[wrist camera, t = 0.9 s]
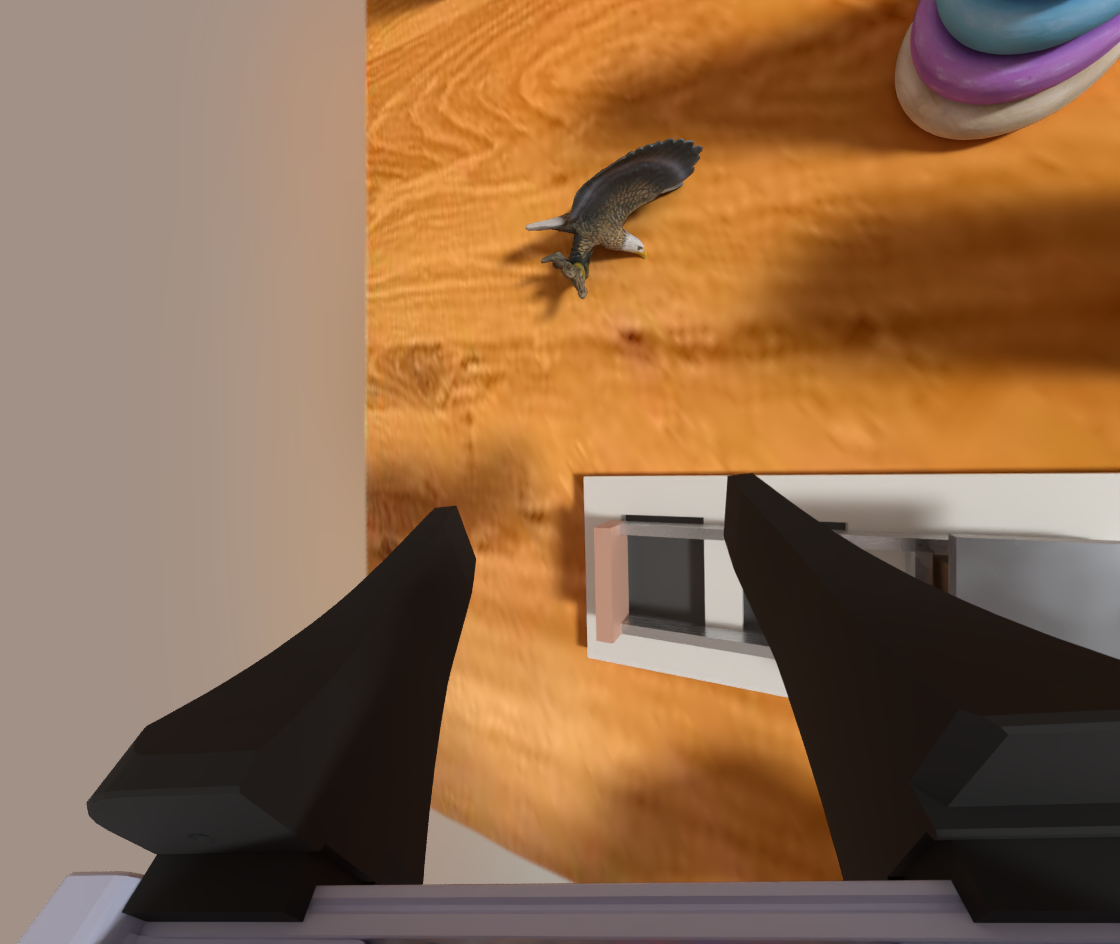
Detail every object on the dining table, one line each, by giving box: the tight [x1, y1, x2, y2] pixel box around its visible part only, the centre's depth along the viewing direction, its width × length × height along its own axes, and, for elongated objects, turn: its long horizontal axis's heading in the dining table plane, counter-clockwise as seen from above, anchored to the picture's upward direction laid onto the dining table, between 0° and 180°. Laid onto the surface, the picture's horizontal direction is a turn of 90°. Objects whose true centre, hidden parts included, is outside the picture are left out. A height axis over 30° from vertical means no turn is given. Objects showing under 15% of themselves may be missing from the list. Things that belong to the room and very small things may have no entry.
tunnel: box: [948, 534, 1120, 659], centre depth 17 cm, size 6×9×6 cm
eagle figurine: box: [526, 138, 703, 299], centre depth 25 cm, size 8×7×9 cm
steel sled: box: [594, 520, 948, 659], centre depth 21 cm, size 21×6×3 cm, turn 91°
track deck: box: [584, 472, 1120, 697], centre depth 22 cm, size 30×12×1 cm, turn 91°
